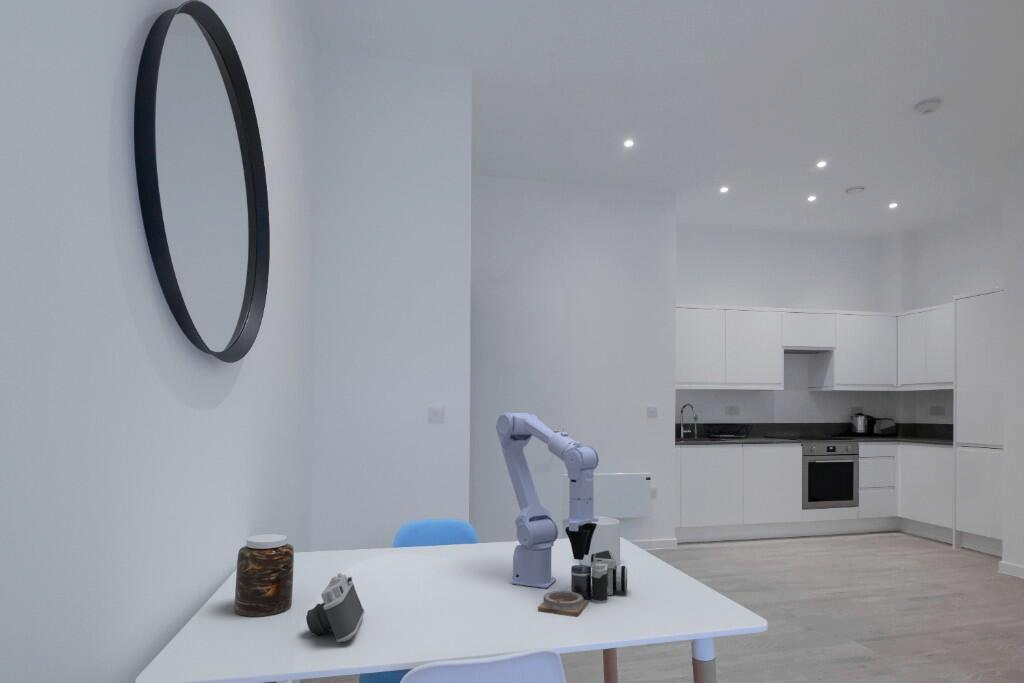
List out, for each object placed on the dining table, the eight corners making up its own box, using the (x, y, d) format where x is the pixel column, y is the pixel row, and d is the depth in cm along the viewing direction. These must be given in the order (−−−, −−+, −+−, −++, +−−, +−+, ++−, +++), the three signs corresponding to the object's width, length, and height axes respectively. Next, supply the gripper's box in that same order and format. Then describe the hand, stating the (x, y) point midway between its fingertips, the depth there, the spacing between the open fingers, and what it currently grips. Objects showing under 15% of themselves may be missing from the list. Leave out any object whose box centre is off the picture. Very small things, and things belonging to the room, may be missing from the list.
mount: (537, 611, 134) (537, 599, 134) (550, 599, 142) (550, 587, 142) (577, 616, 131) (577, 604, 131) (587, 604, 139) (587, 592, 139)
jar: (296, 598, 140) (299, 531, 142) (286, 616, 129) (290, 543, 130) (241, 600, 138) (245, 532, 140) (227, 618, 127) (231, 544, 128)
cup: (579, 556, 182) (579, 515, 183) (619, 558, 180) (619, 517, 181) (578, 567, 170) (578, 523, 171) (620, 569, 169) (620, 524, 170)
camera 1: (369, 611, 129) (350, 564, 130) (359, 636, 113) (338, 583, 114) (327, 631, 127) (309, 584, 128) (311, 659, 112) (290, 606, 113)
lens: (568, 599, 142) (568, 568, 142) (574, 594, 146) (574, 563, 147) (588, 602, 140) (588, 570, 141) (593, 596, 144) (593, 565, 145)
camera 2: (626, 606, 138) (625, 560, 139) (587, 603, 140) (587, 558, 141) (627, 585, 153) (627, 545, 154) (593, 583, 155) (593, 542, 156)
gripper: (590, 503, 137) (590, 566, 136) (604, 495, 151) (604, 551, 149) (560, 501, 140) (560, 562, 138) (576, 493, 153) (576, 548, 152)
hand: (581, 556), depth 144 cm, fingers open, 4 cm apart
